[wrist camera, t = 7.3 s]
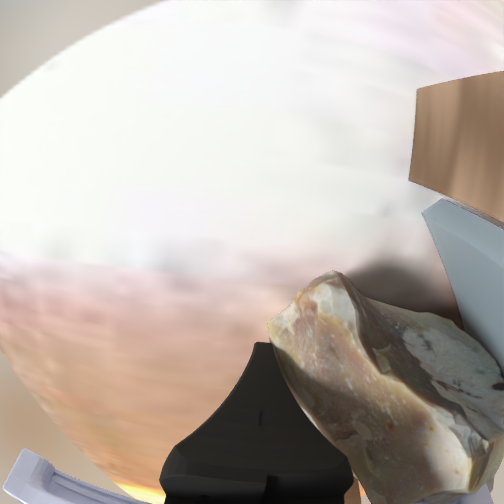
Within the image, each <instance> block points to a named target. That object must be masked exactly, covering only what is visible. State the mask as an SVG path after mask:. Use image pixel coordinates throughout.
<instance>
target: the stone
mask: <svg viewBox="0 0 504 504" xmlns="http://www.w3.org/2000/svg"><path fill="white" fill-rule="evenodd" d="M293 300H294V302H293V303H292V304H291V305H289V306H288V307H287V308H286V309H284V310H283V311H281V312H280V313H279V314H277V315H276V316H275V317H274V318H273V319H272V320H271V321H270V322H269V323H268V324H267V326H268V332H269V339H270V343H272V344H273V347H274V352H275V355H276V359H277V361H278V364H279V367H280V369H281V372H282V374H283V376H284V378H285V381H286V383H287V385H288V387H289V389H290V390H291V392H292V394H293V396H294V397H295V399H296V401H297V402H298V404H299V405H300V407H301V408H302V410H303V411H304V413H305V414H306V415H307V417H308V418H309V419H310V420H311V422H312V423H313V424H314V425H315V426H316V427H317V429H318V430H319V431H320V432H321V433H322V434H323V435H324V436H325V437H326V438H327V439H328V440H329V441H330V442H331V443H332V444H333V445H334V446H335V447H336V448H337V449H339V450H340V451H341V452H342V453H343V454H345V455H346V456H347V458H348V461H349V463H350V466H351V469H352V472H353V476H354V477H356V478H357V479H358V480H359V481H360V483H361V485H362V486H363V488H364V490H365V492H366V495H367V497H368V499H369V500H370V502H371V504H413V503H420V502H426V503H429V504H435V503H438V504H452V503H455V502H456V501H457V500H458V499H460V498H461V497H463V496H465V495H469V494H473V493H475V494H476V492H477V491H478V490H479V489H480V488H481V487H482V486H483V485H484V484H487V486H488V489H489V492H490V493H491V491H492V489H493V482H494V475H495V474H496V472H497V470H498V468H499V466H500V464H501V462H502V459H503V456H504V375H503V373H502V371H501V369H500V368H499V366H498V364H497V362H496V361H495V359H493V358H492V356H491V355H490V354H489V353H488V352H487V351H486V350H485V349H484V347H483V346H482V345H481V344H480V343H479V342H478V341H476V340H475V339H474V338H472V337H471V336H470V335H469V334H468V333H466V332H464V331H462V330H461V329H459V328H458V327H457V326H456V325H455V324H454V322H453V321H452V319H446V318H443V317H440V316H438V315H435V314H433V313H428V312H425V313H418V312H414V311H410V310H407V309H403V308H399V307H395V306H392V305H389V304H385V303H382V302H379V301H376V300H373V299H370V298H367V297H365V296H363V295H362V294H361V293H360V292H359V291H358V290H357V289H356V288H355V287H354V286H353V285H352V284H351V282H350V281H349V280H348V279H347V278H346V277H345V276H344V275H343V274H342V273H340V272H336V271H333V270H332V271H329V272H327V273H325V274H323V275H321V276H320V277H318V278H316V279H314V280H313V281H312V282H310V284H309V285H308V286H307V287H306V288H304V289H302V290H300V291H299V292H298V293H297V294H296V295H295V297H294V298H293Z"/></svg>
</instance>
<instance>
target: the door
mask: <svg viewBox="0 0 504 504" xmlns="http://www.w3.org/2000/svg"><path fill="white" fill-rule="evenodd" d="M422 215H423V217H424V219H425V221H426V224H427V226H428V228H429V230H430V233H431V235H432V237H433V240H434V242H435V245H436V247H437V249H438V252H439V254H440V257H441V260H442V262H443V265H444V267H445V270H446V273H447V276H448V278H449V281H450V284H451V287H452V290H453V293H454V296H455V299H456V302H457V305H458V308H459V312H460V315H461V318H462V322H463V325H464V329H465V332H466V333H468V334H469V335H470V336H471V337H472V338H474V339H475V340H476V341H478V342H479V343H480V344H481V345H482V346H483V347H484V349H485V350H486V351H487V352H488V353H489V354H490V355H491V356H492V358H493V359H495V361H496V362H497V364H498V366H499V368H500V369H501V371H502V373H503V375H504V230H503V229H502V228H500V227H498V226H496V225H494V224H492V223H491V222H489V221H487V220H485V219H483V218H481V217H479V216H477V215H475V214H473V213H471V212H469V211H467V210H465V209H463V208H461V207H459V206H457V205H455V204H453V203H450V202H448V201H446V200H444V199H440V200H439V201H438V202H436V203H435V204H433V205H432V206H431V207H429V208H428V209H427V210H425V211H424V212H422Z"/></svg>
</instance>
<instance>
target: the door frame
mask: <svg viewBox="0 0 504 504" xmlns="http://www.w3.org/2000/svg"><path fill="white" fill-rule="evenodd" d="M409 181H412V182H414V183H417V184H419V185H422V186H424V187H427V188H429V189H432V190H434V191H437V192H439V193H441V194H444V195H446V196H448V197H451V198H453V199H455V200H457V201H460V202H462V203H464V204H466V205H468V206H471V207H473V208H475V209H477V210H479V211H481V212H483V213H485V214H487V215H489V216H491V217H493V218H495V219H497V220H499V221H501V222H503V223H504V71H500V72H494V73H488V74H482V75H477V76H472V77H467V78H462V79H457V80H452V81H448V82H444V83H439V84H435V85H431V86H427V87H423V88H419V89H417V99H416V116H415V129H414V139H413V149H412V158H411V165H410V173H409ZM344 501H345V504H361V497H360V491H359V484H358V479H357V478H356V477H354V483H353V485H352V486H351V488H350V489H349V490H348V491H347V492H346V493H345V494H344Z"/></svg>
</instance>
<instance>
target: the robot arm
mask: <svg viewBox="0 0 504 504" xmlns="http://www.w3.org/2000/svg"><path fill="white" fill-rule="evenodd" d="M159 481H160V484H161V486H162V488H163V490H164V492H165V493H166V498H165V502H164V504H345V501H344V494H345V493H346V492H347V491H348V490H349V489H350V488H351V486H352V485H353V483H354V476H353V472H352V469H351V466H350V463H349V461H348V458H347V456H346V455H345V454H343V453H342V452H341V451H340V450H339V449H337V448H336V447H335V446H334V445H333V444H332V443H331V442H330V441H329V440H328V439H327V438H326V437H325V436H324V435H323V434H322V433H321V432H320V431H319V430H318V429H317V427H316V426H315V425H314V424H313V423H312V422H311V420H310V419H309V418H308V417H307V415H306V414H305V413H304V411H303V410H302V408H301V407H300V405H299V404H298V402H297V401H296V399H295V397H294V396H293V394H292V392H291V390H290V389H289V387H288V385H287V383H286V381H285V378H284V376H283V374H282V372H281V369H280V367H279V364H278V361H277V359H276V355H275V352H274V347H273V344H272V343H265V342H256V343H255V344H254V349H253V352H252V355H251V358H250V360H249V362H248V364H247V366H246V368H245V370H244V372H243V374H242V376H241V377H240V379H239V381H238V382H237V384H236V385H235V387H234V388H233V390H232V391H231V393H230V394H229V396H228V397H227V398H226V399H225V401H224V402H223V403H222V404H221V406H220V407H219V408H218V409H217V410H216V411H215V412H214V413H213V414H212V415H211V416H210V418H208V419H207V420H206V421H205V422H204V423H203V424H202V425H201V426H200V427H199V428H198V429H196V430H195V431H194V432H193V433H192V434H190V435H189V436H188V437H186V438H185V439H184V440H182V441H181V442H179V443H178V444H177V445H175V446H174V448H173V449H172V451H171V452H170V454H169V456H168V457H167V459H166V461H165V463H164V466H163V468H162V472H161V475H160V479H159ZM2 488H3V490H4V491H5V492H7V493H8V494H9V495H10V496H12V497H13V498H15V499H16V500H17V501H18V502H20V503H21V504H151V503H147V502H144V501H140V500H136V499H133V498H129V497H126V496H123V495H120V494H117V493H114V492H111V491H108V490H105V489H102V488H99V487H97V486H94V485H91V484H89V483H86V482H84V481H81V480H79V479H76V478H74V477H72V476H70V475H67V474H65V473H63V472H61V471H59V470H56V469H55V468H54V466H53V465H52V464H51V463H50V462H49V461H48V460H46V459H45V458H43V457H41V456H39V455H38V454H36V453H34V452H32V451H30V450H28V449H26V448H24V449H23V450H22V452H21V453H20V455H19V457H18V459H17V461H16V462H15V464H14V466H13V468H12V470H11V472H10V474H9V475H8V477H7V479H6V481H5V483H4V485H3V487H2ZM413 504H429V503H426V502H420V503H413ZM435 504H438V503H435ZM452 504H493V501H492V498H491V495H490V492H489V489H488V486H487V484H484V485H483V486H482V487H481V488H480V489H479V490H478V491H477V492H476V494H475V493H473V494H469V495H465V496H463V497H461V498H460V499H458V500H457V501H456V502H455V503H452Z"/></svg>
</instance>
